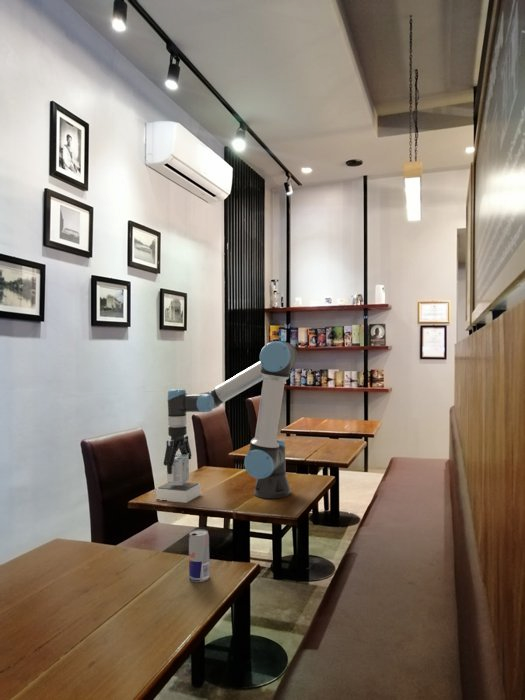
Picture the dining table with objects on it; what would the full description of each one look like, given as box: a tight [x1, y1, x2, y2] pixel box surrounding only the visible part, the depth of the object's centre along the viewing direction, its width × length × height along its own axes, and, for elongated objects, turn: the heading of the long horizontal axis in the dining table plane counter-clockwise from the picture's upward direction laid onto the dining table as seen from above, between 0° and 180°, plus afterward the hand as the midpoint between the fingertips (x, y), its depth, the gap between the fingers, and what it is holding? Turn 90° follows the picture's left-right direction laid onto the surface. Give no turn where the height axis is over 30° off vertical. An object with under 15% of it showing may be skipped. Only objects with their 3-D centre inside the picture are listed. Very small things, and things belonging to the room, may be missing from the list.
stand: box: [155, 481, 201, 503], centre depth 210 cm, size 14×12×5 cm
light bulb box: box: [167, 453, 190, 485], centre depth 210 cm, size 11×7×11 cm, turn 174°
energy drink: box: [188, 529, 211, 583], centre depth 132 cm, size 5×5×12 cm
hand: (178, 478), depth 210 cm, fingers closed on light bulb box, 11 cm apart
